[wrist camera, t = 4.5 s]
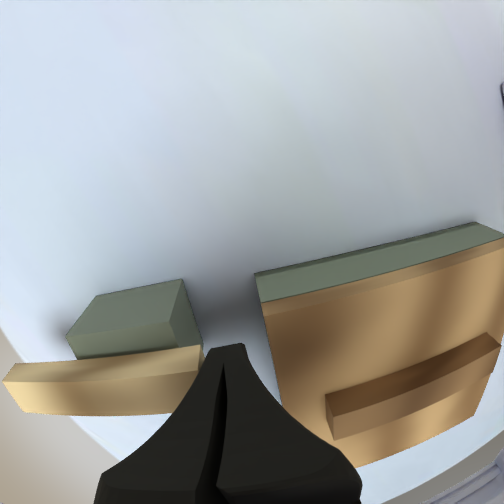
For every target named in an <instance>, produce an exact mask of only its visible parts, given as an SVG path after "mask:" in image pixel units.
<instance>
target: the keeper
mask: <svg viewBox="0 0 504 504" xmlns="http://www.w3.org/2000/svg"><path fill="white" fill-rule="evenodd" d="M65 337H66V339H67V341H68V343H69V345H70V347H71V349H72V351H73V352H74V354H75V356H76V358H77V360H84V359H95V358H105V357H115V356H123V355H132V354H140V353H148V352H155V351H162V350H169V349H175V348H182V347H188V346H194V345H201V348H202V351H203V341H202V338H201V336H200V333H199V330H198V327H197V324H196V321H195V318H194V315H193V312H192V308H191V305H190V302H189V299H188V296H187V293H186V289H185V286H184V283H183V280H182V279H178V280H173V281H168V282H164V283H159V284H154V285H149V286H144V287H139V288H134V289H129V290H124V291H119V292H114V293H109V294H104V295H99V296H96V297H95V298H94V299H93V300H92V302H91V303H90V304H89V306H88V307H87V308H86V310H85V311H84V312H83V313H82V315H81V316H80V317H79V319H78V320H77V321H76V323H75V324H74V325H73V327H72V328H71V330H70V331H69V332H68V334H67V335H66V336H65Z"/></svg>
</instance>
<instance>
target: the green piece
mask: <svg viewBox="0 0 504 504" xmlns="http://www.w3.org/2000/svg"><path fill="white" fill-rule="evenodd" d="M501 238H504V234H503V233H501V232H499V231H496V230H494V229H491V228H489V227H487V226H484V225H482V224H479V223H477V222H472V223H468V224H465V225H461V226H457V227H453V228H449V229H445V230H441V231H437V232H433V233H429V234H425V235H420V236H416V237H412V238H408V239H404V240H400V241H396V242H391V243H387V244H383V245H379V246H375V247H370V248H366V249H362V250H357V251H353V252H349V253H344V254H340V255H336V256H331V257H327V258H322V259H318V260H313V261H309V262H304V263H300V264H295V265H291V266H286V267H282V268H277V269H272V270H268V271H263V272H259V273H254V275H255V279H256V284H257V289H258V293H259V298H260V303H266V302H270V301H275V300H280V299H284V298H288V297H293V296H297V295H302V294H306V293H310V292H314V291H319V290H323V289H327V288H331V287H335V286H339V285H343V284H347V283H351V282H355V281H359V280H363V279H367V278H371V277H374V276H378V275H382V274H386V273H389V272H393V271H397V270H400V269H404V268H407V267H411V266H414V265H418V264H421V263H425V262H428V261H432V260H435V259H438V258H442V257H445V256H448V255H452V254H455V253H458V252H461V251H464V250H468V249H471V248H474V247H477V246H480V245H483V244H486V243H489V242H492V241H495V240H498V239H501ZM261 308H262V306H261ZM262 312H263V311H262ZM263 317H264V316H263ZM264 322H265V320H264ZM265 326H266V325H265ZM266 331H267V330H266ZM267 336H268V335H267ZM268 341H269V339H268ZM269 345H270V344H269ZM270 350H271V349H270ZM271 355H272V353H271ZM272 359H273V358H272ZM273 364H274V363H273ZM274 369H275V368H274ZM275 373H276V372H275ZM276 378H277V377H276ZM277 383H278V382H277ZM278 387H279V386H278ZM279 392H280V391H279ZM280 397H281V396H280ZM281 401H282V400H281ZM282 406H283V405H282Z"/></svg>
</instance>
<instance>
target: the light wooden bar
mask: <svg viewBox="0 0 504 504" xmlns="http://www.w3.org/2000/svg"><path fill="white" fill-rule="evenodd" d="M204 360H205V356H204V353H203V351H202V348H201V345H194V346H188V347H182V348H175V349H169V350H162V351H155V352H148V353H140V354H132V355H123V356H115V357H105V358H95V359H84V360H72V361H58V362H40V363H15V365H14V366H13V367H12V368H11V370H10V371H9V372H8V374H7V375H6V377H5V378H4V379H3V381H2V382H3V384H4V385H5V387H6V388H7V390H8V391H9V393H10V394H11V395H12V397H13V398H14V400H15V401H16V402H17V404H18V405H19V407H20V408H21V409H22V410H23V412H29V413H39V414H52V415H71V416H132V415H152V414H166V413H173V412H174V411H175V409H176V408H177V407H178V405H179V404H180V402H181V401H182V399H183V398H184V396H185V395H186V393H187V391H188V390H189V388H190V387H191V385H192V383H193V381H194V380H195V378H196V376H197V374H198V372H199V370H200V368H201V366H202V364H203V362H204Z"/></svg>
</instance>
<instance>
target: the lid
mask: <svg viewBox="0 0 504 504" xmlns="http://www.w3.org/2000/svg"><path fill="white" fill-rule="evenodd" d="M261 306H262V311H263V316H264V320H265V325H266V330H267V335H268V339H269V344H270V349H271V353H272V358H273V363H274V368H275V372H276V377H277V382H278V386H279V391H280V396H281V400H282V405H283V408H284V409H285V410H286V411H287V412H288V413H289V414H290V415H291V416H292V417H294V418H295V419H296V420H297V421H298V422H300V423H301V424H302V425H303V426H304V427H306V428H307V429H308V430H310V431H311V432H312V433H314V434H315V435H317V436H318V437H319V438H321V439H323V440H324V441H326V442H327V443H329V444H331V445H332V446H334V447H336V448H338V449H339V450H340V451H341V452H342V453H343V454H344V455H345V456H346V458H347V459H348V460H349V461H350V463H351V464H352V465H353V466H354V468H358V467H361V466H364V465H367V464H370V463H373V462H375V461H378V460H381V459H383V458H386V457H389V456H391V455H394V454H396V453H399V452H401V451H404V450H406V449H408V448H411V447H413V446H415V445H417V444H420V443H422V442H424V441H426V440H428V439H430V438H432V437H435V436H437V435H439V434H441V433H443V432H444V431H446V430H448V429H450V428H452V427H454V426H456V425H458V424H459V423H461V422H463V421H465V420H467V419H468V418H470V417H472V416H473V415H474V414H475V412H476V409H477V407H478V405H479V402H480V400H481V398H482V395H483V393H484V390H485V388H486V385H487V383H488V380H489V377H490V374H491V373H492V372H493V370H494V367H495V364H496V361H497V358H498V355H499V352H500V349H501V346H502V345H501V341H502V337H503V334H504V238H501V239H498V240H495V241H492V242H489V243H486V244H483V245H480V246H477V247H474V248H471V249H468V250H464V251H461V252H458V253H455V254H452V255H448V256H445V257H442V258H438V259H435V260H432V261H428V262H425V263H421V264H418V265H414V266H411V267H407V268H404V269H400V270H397V271H393V272H389V273H386V274H382V275H378V276H374V277H371V278H367V279H363V280H359V281H355V282H351V283H347V284H343V285H339V286H335V287H331V288H327V289H323V290H319V291H314V292H310V293H306V294H302V295H297V296H293V297H288V298H284V299H280V300H275V301H270V302H266V303H261Z"/></svg>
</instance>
